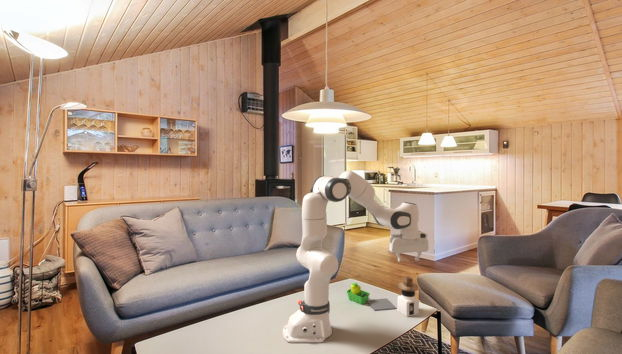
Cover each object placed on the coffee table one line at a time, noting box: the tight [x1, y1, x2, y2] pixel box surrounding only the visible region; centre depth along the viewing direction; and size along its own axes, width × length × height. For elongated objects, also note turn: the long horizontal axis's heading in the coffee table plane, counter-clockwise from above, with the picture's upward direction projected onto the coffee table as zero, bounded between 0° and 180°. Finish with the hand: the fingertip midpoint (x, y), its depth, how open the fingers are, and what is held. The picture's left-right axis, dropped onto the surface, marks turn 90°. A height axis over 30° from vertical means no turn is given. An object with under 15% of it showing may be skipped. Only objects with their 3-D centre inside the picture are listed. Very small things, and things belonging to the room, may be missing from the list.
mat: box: [366, 297, 397, 312], centre depth 177 cm, size 12×12×1 cm
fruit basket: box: [346, 282, 370, 306], centre depth 182 cm, size 11×9×11 cm
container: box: [396, 290, 420, 318], centre depth 168 cm, size 8×8×13 cm
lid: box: [397, 276, 419, 292], centre depth 168 cm, size 10×10×5 cm
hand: (408, 260), depth 167 cm, fingers open, 8 cm apart
